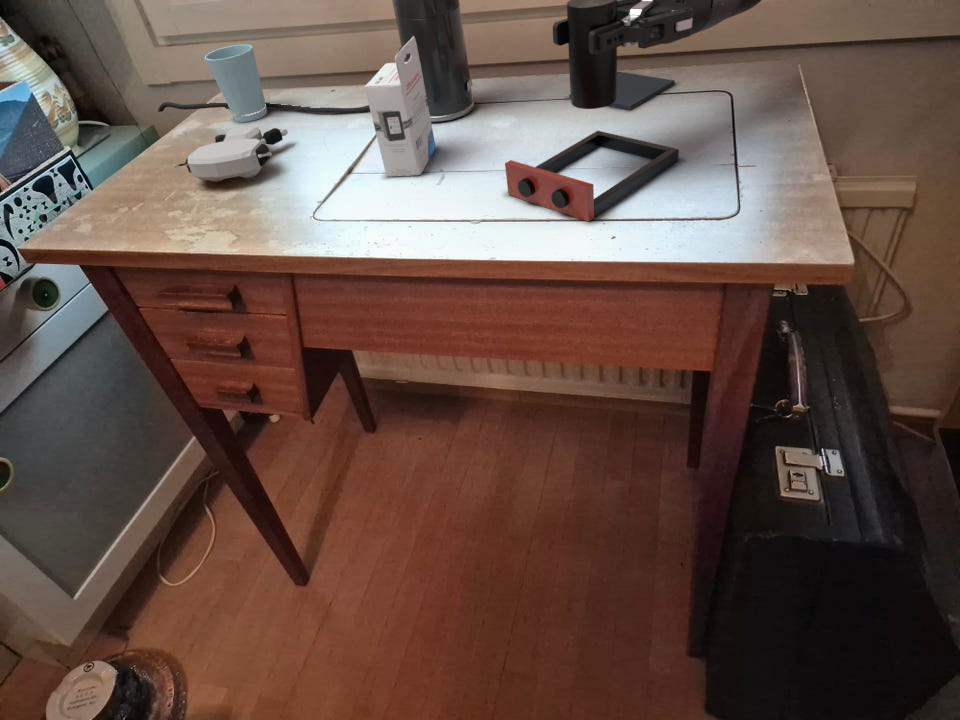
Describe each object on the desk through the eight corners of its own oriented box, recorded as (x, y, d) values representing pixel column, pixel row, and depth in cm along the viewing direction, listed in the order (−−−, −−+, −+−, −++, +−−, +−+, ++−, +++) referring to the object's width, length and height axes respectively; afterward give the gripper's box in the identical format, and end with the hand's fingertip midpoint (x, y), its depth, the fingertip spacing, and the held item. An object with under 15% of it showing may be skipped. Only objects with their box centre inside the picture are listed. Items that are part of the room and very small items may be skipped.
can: (561, 104, 73) (556, 5, 66) (589, 89, 75) (587, -8, 69) (597, 112, 70) (596, 9, 63) (626, 96, 72) (627, -5, 66)
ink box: (403, 149, 92) (379, 37, 83) (437, 148, 91) (416, 34, 82) (385, 177, 86) (356, 59, 77) (420, 176, 85) (395, 56, 75)
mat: (569, 98, 99) (569, 94, 98) (614, 74, 104) (614, 70, 104) (630, 110, 92) (630, 106, 92) (674, 84, 97) (674, 80, 97)
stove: (503, 197, 77) (499, 165, 75) (597, 141, 86) (597, 111, 83) (583, 225, 70) (582, 191, 68) (678, 161, 78) (680, 128, 76)
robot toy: (221, 156, 102) (182, 194, 90) (211, 126, 99) (168, 162, 87) (297, 147, 101) (267, 185, 89) (288, 117, 98) (256, 151, 86)
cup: (269, 120, 109) (246, 54, 102) (224, 127, 110) (198, 62, 103) (277, 105, 115) (256, 41, 108) (234, 111, 115) (211, 48, 109)
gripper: (643, -46, 76) (526, -10, 69) (748, -36, 66) (622, 7, 60) (641, 24, 80) (532, 64, 74) (738, 43, 71) (621, 91, 65)
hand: (573, 39), depth 67 cm, fingers closed on can, 5 cm apart
